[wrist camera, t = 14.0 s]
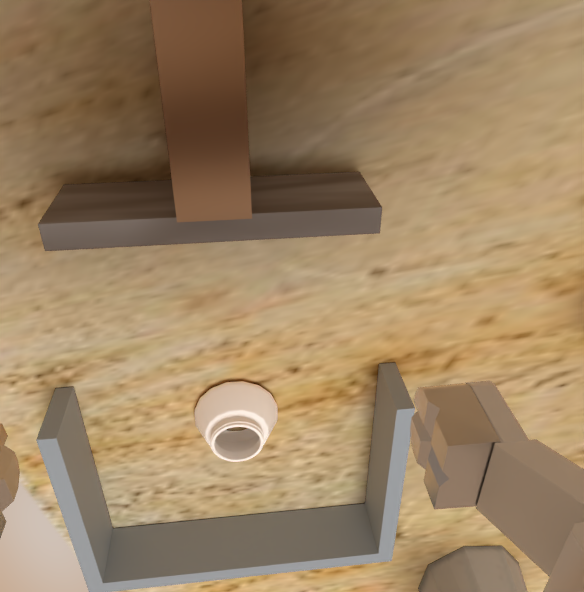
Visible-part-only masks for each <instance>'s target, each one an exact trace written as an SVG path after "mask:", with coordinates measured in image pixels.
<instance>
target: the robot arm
mask: <svg viewBox="0 0 584 592" xmlns="http://www.w3.org/2000/svg"><path fill="white" fill-rule="evenodd" d="M414 403H415V405H416V408H417V410H418V411H417V412H416V413H415V414H414V415H413V416H412V417H411V426H410V435H411V444H412V449H413V453H414V456H415V459H416V461H417V463H418V464H419V465H421V466H422V467H423V468H424V469H426V471H425V477H424V483H425V486H426V488H427V491H428V494H429V496H430V499H431V502H432V504H433V507H434V509H445V508H458V507H472V506H477V507H476V509H477V510H478V511H480V512H481V513H482V514H483V515H484V516H485V517H486V518H487V519H488V520H489V521H490V522H491V523H492V524H494V525H495V526H496V527H497V528H498V529H499V530H500V531H501V532H502V533H503V534H504V535H505V536H506V537H507V538H509V539H510V540H511V541H512V542H513V543H514V544H515V545H516V546H517V547H518V548H519V549H520V550H521V551H522V552H524V553H525V554H526V555H527V556H528V557H529V558H530V559H531V560H532V561H533V562H534V563H535V564H536V565H538V566H539V567H540V568H541V569H542V570H543V571H544V572H545V573H546V574H547V575H548V576H549V577H550V578H549V580H548V582H547V584H546V586H545V589H544V591H543V592H584V469H583V468H581V467H579V466H578V465H576V464H575V463H573V462H571V461H570V460H568V459H567V458H565V457H563V456H562V455H560V454H559V453H557V452H555V451H554V450H552V449H551V448H549V447H547V446H546V445H544V444H543V443H541V442H539V441H538V440H529V439H528V438H527V436H526V434H525V433H524V431H523V429H522V428H521V426H520V424H519V423H518V421H517V420H516V418H515V416H514V415H513V413H512V411H511V410H510V408H509V407H508V405H507V403H506V402H505V400H504V398H503V397H502V395H501V394H500V392H499V390H498V389H497V387H496V385H495V384H494V383H493V382H491V381H481V382H471V383H466V384H464V383H461V384H450V385H439V386H429V387H418V389H417V391H416V393H415V399H414ZM7 436H8V435H7V433H6V431H5V429H4V427H3V425H2V424H0V538H1V535H2V532H3V529H4V527H5V524H6V520H5V518H4V516H3V514H2V511H3V510H4V509H5V508H6V507H8V506H9V505H10V504H11V503H12V502H13V501H14V499H15V495H16V493H17V490H18V484H19V474H20V471H19V464H18V460H17V457H16V455H15V452H14V451H12V450H11V449H9V448H8V447H6V446H4V444H5V441H6V439H7Z"/></svg>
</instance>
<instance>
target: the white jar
mask: <svg viewBox="0 0 584 592" xmlns="http://www.w3.org/2000/svg"><path fill="white" fill-rule="evenodd" d="M276 422H277V404H276V402H275V400H274V398H273V397H272V395H271V393H269V392H268V391H266V390H265V389H264V388H262V387H261V386H259V385H256V384H252V383H248V382H244V381H240V382H226V383H223V384H221V385H218V386H216V387H213V388H211V389H210V390H208V391H207V392H206V393H205V394H204V395H203V396H202V397H201V398H200V399H199V401H198V404H197V406H196V408H195V423H196V427H197V428H198V430H199V431H200V433H201V434H202V436H203V437H204V439H205V440H206V441H207V443H208V444H209V446H210V447H211V449H212V451H213V452H214V453H215V454H216V455H217V456H218V457H220V458H221V459H224V460H227V461H232V462H239V461H245V460H248V459H251V458H253V457H254V456H256V455H257V454H258V453H259V452H260V451H261V449H262V447H263V445H264V444H265V442H266V440H267V438H268V437H269V435H270V433H271V431H272V429H273V427H274V426H275V424H276ZM232 427H245V428H248V429H245V430H240V431H229V430H226V429H229V428H232Z"/></svg>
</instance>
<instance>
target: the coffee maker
mask: <svg viewBox="0 0 584 592" xmlns="http://www.w3.org/2000/svg"><path fill="white" fill-rule="evenodd" d="M418 589H419V591H420V592H527V588H526V585H525V582H524V579H523V576H522V572H521V569H520V566H519V563H518V562H517V561H516V560H515V559H514V558H513V557H512V556H511V555H510V554H509V553H508V552H507V551H506V550H505V549H504V547H503V546H465V547H462V548H460V549H458V550H456V551H454V552H452V553H450V554H448V555H446V556H444V557H443V558H441V559H439V560H437V561H435V562H433V563H431V564H429V565H428V567H427V569H426V571H425V574H424V576H423V578H422V581H421V583H420V585H419V588H418Z"/></svg>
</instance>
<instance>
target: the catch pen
mask: <svg viewBox="0 0 584 592" xmlns="http://www.w3.org/2000/svg"><path fill="white" fill-rule="evenodd" d="M414 411H415V407H414V405H413V403H412V400H411V398H410V396H409V394H408V391H407V389H406V387H405V384H404V382H403V380H402V377H401V375H400V373H399V370H398V368H397V366H396V363H383V364H379V370H378V380H377V390H376V400H375V410H374V420H373V430H372V440H371V450H370V460H369V470H368V480H367V490H366V500H365V503H364V504H354V505H344V506H334V507H324V508H314V509H304V510H294V511H284V512H274V513H264V514H254V515H243V516H233V517H223V518H213V519H203V520H193V521H183V522H173V523H163V524H153V525H143V526H133V527H123V528H113V527H112V524H111V520H110V517H109V513H108V509H107V506H106V502H105V499H104V495H103V491H102V488H101V484H100V481H99V477H98V473H97V470H96V466H95V463H94V459H93V455H92V452H91V448H90V445H89V441H88V437H87V434H86V430H85V427H84V423H83V419H82V416H81V412H80V409H79V405H78V401H77V398H76V394H75V391H74V387H66V388H55V391H54V394H53V397H52V399H51V402H50V405H49V407H48V410H47V413H46V415H45V418H44V421H43V424H42V426H41V429H40V432H39V434H38V437H37V443H38V446H39V449H40V452H41V455H42V458H43V461H44V463H45V466H46V469H47V472H48V475H49V478H50V481H51V484H52V486H53V489H54V492H55V495H56V498H57V501H58V504H59V507H60V509H61V512H62V515H63V518H64V521H65V524H66V527H67V530H68V533H69V535H70V538H71V541H72V544H73V547H74V550H75V553H76V556H77V558H78V561H79V564H80V567H81V570H82V573H83V576H84V579H85V581H86V584H87V587H88V590H89V592H112V591H121V590H131V589H140V588H149V587H158V586H167V585H176V584H185V583H195V582H204V581H213V580H222V579H231V578H240V577H249V576H258V575H268V574H277V573H286V572H295V571H304V570H313V569H322V568H331V567H341V566H350V565H359V564H368V563H377V562H386V561H392V556H393V549H394V542H395V536H396V529H397V523H398V516H399V510H400V503H401V496H402V490H403V483H404V477H405V470H406V463H407V457H408V450H409V444H410V437H411V435H410V426H411V417H412V416H413V415H414Z"/></svg>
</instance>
